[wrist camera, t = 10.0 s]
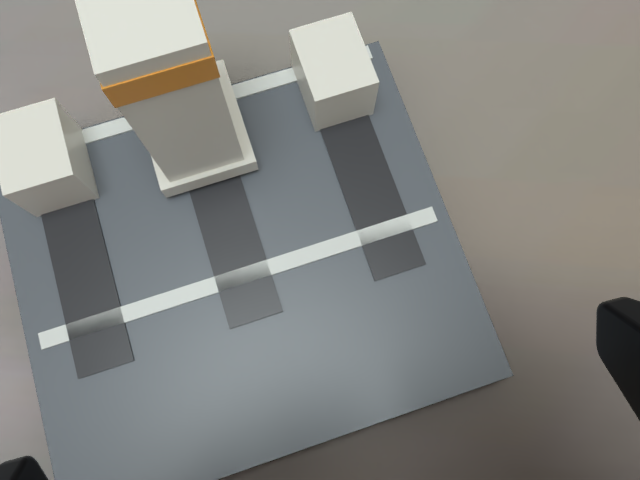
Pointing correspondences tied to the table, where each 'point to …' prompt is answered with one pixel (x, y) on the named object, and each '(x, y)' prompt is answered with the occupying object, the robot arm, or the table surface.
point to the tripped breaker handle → (168, 89)
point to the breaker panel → (239, 277)
